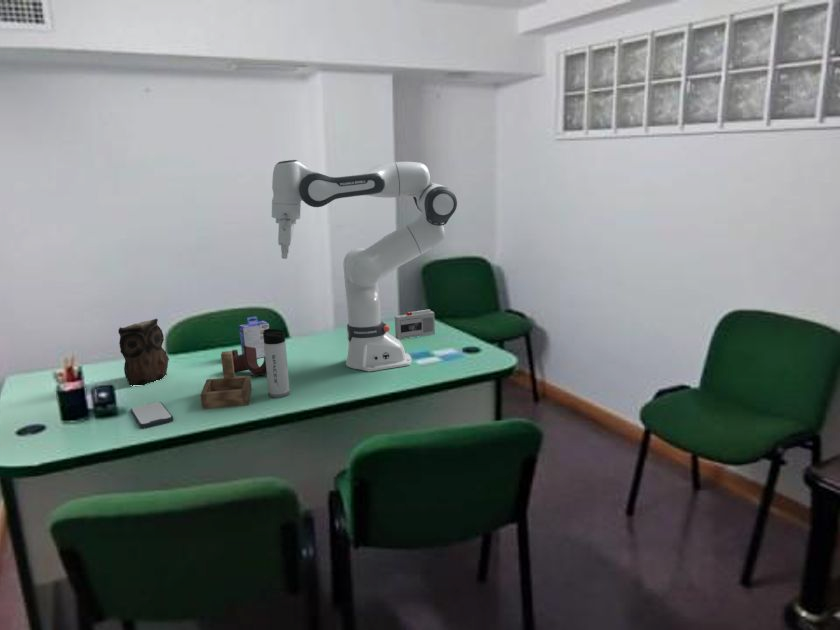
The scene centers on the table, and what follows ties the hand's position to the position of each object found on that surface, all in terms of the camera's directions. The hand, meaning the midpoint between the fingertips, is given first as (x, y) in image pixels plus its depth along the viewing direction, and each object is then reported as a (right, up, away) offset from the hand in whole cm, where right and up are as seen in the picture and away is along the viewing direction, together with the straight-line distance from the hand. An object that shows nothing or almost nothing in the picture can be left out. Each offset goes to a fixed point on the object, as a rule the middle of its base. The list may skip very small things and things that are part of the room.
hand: (285, 256), depth 203 cm
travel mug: (0, -43, -11) cm, 44 cm away
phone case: (-33, -48, -24) cm, 63 cm away
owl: (-48, -40, +7) cm, 63 cm away
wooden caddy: (-15, -44, -12) cm, 47 cm away
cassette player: (+41, -28, +46) cm, 68 cm away
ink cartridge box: (-16, -34, +27) cm, 46 cm away
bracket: (-13, -39, +9) cm, 42 cm away
